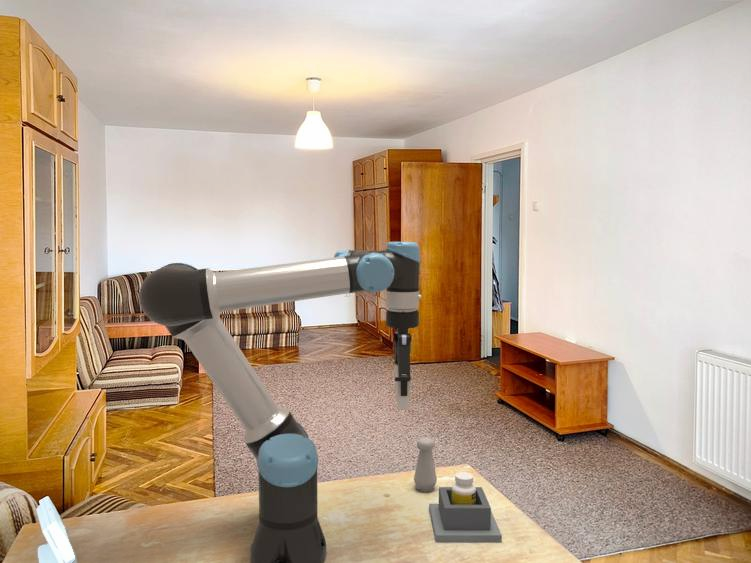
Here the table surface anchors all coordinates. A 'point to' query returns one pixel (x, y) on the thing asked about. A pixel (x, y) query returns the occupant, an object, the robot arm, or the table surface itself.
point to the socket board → (463, 519)
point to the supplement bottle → (463, 490)
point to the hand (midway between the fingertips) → (401, 400)
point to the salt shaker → (425, 466)
